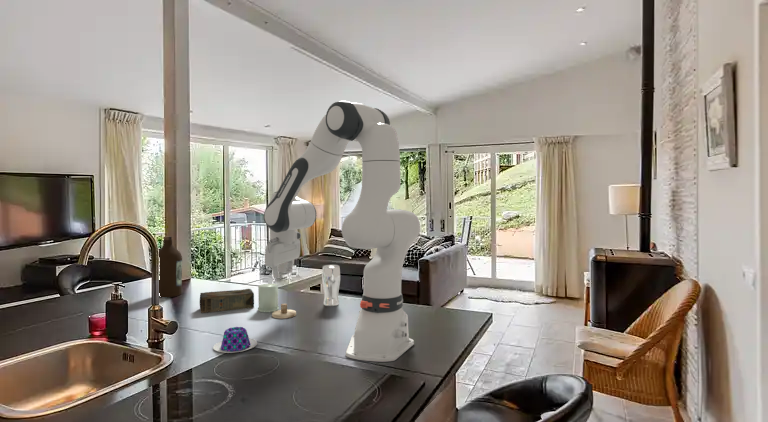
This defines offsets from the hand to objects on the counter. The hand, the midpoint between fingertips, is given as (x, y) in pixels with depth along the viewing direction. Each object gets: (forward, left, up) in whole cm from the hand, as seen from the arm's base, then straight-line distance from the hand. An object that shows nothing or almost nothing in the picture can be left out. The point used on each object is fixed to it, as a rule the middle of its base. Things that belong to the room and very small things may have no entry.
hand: (283, 274), depth 158 cm
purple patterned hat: (-32, -1, -15) cm, 35 cm away
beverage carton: (+3, +25, -15) cm, 29 cm away
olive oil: (+15, +61, -15) cm, 64 cm away
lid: (0, 0, -15) cm, 15 cm away
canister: (+5, +9, -15) cm, 18 cm away
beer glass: (+18, -11, -15) cm, 26 cm away
